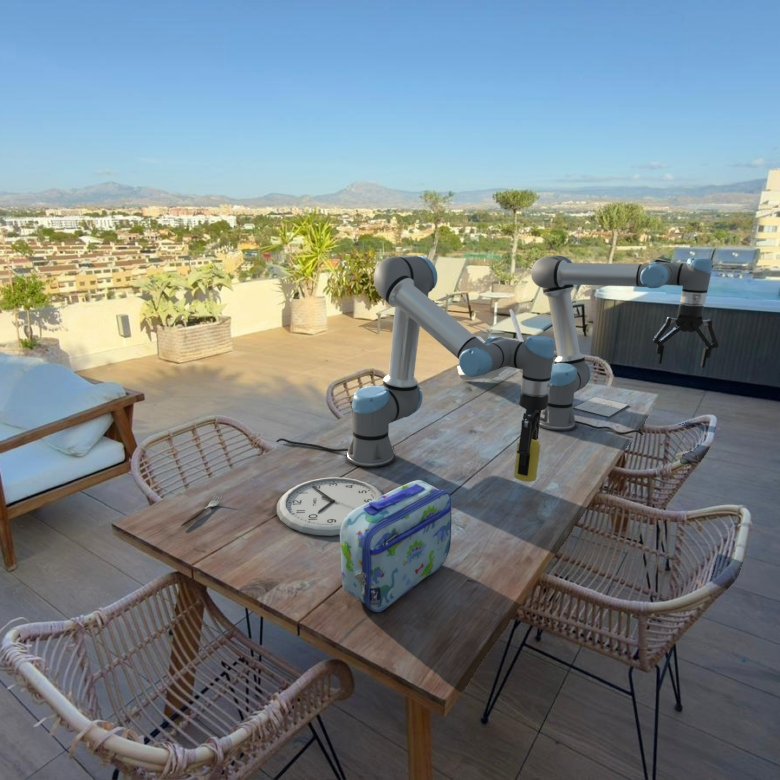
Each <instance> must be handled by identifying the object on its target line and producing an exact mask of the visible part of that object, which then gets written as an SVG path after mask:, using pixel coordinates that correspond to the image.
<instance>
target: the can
mask: <svg viewBox="0 0 780 780" xmlns="http://www.w3.org/2000/svg"><path fill="white" fill-rule="evenodd" d="M519 443H520V438H519V439H518V440H517V445H516V453H515V461H514V462H515V463H514V470H513V471H514V472H513V477H514V478H515V479H516V480H518V481H521V482H527V483H529V482H534V481H535V480H537V475H538V468H539V459H540V451H541V442H540V441H539V440H534V439H532V441H531V446H530V460H529V469H528V475H527V476H525V475H521V474H518V465H519V456H520V454H518V453H517V451H518V450H519Z"/></svg>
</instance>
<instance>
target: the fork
mask: <svg viewBox="0 0 780 780" xmlns="http://www.w3.org/2000/svg"><path fill="white" fill-rule="evenodd" d="M224 494H225V493H223V492H220V491H217V492H216V494H215V495H214V496H213V498H212V499H211V500H210V502H209V503H208V504H207V506H206V507H204V508H202V509H200V510H198V511H197V512H195V513H194V514H193V515H192V516H190V517H189V518H188V519H186V520H185V521H184V522H183V523H182V524H181V525H180V526H181V527H183V526H185V525H187V524H189V523H190V522H191V521H193V520H195V519H196V518H198V517H199V516H201V515H202V514H203V513H204V512H205V511H206V510H207V509H208V508H212V507H216V506H218V505H219V504H220V503H221V501H222V498H223V497H224Z"/></svg>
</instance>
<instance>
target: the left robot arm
mask: <svg viewBox="0 0 780 780" xmlns="http://www.w3.org/2000/svg"><path fill="white" fill-rule="evenodd" d="M373 284H374V288H375V290H376V292H377V293H378V295H379V296H380V297H381V298H382V299H383V300H384V301H385V302H386V303H387V304H388V305H389V306H390V307H393V308H394V313H393V315H394V316H393V321H392V322H393V324H392V332H391V333H392V334H391V344H390V354H389V363H388V374H386V375H385V376H384V377H383V380H382V385H371V386H369V385H367V386H363V387H361V388H358V389H357V390H356V391H355V392H354V393H353V396H352V403H351V408H352V409H351V410H352V437H351V441H350V443H349V446H348V448H330V447H326V446H322V445H319V444H315V443H314V444H312V443H307V442H299V441H293V440H288V439H286V438H283V437H281V438H278V439H276V440H275V443H279V442H285V443H288V444H293V445H300V446H306V447H313V448H318V449H322V450H326V451H329V452H347V453H346V454H347V455H346V457H347V458H346V459H347V461H348V462H349V464H352V465H354V466H356V467H361V468H366V469H367V468H370V469H371V468H373V469H374V468H381V467H384V466H387V465H389V464H391V463H392V462H393V461H394V459H395V457H394V456H395V452H394V451H395V445H392V443H391V440H390V437H389V436H390V435H389V432H390V431H389V430H390V429H389V428H390V427H389V426H390V425H389V424H391V423H394V422H397V421H399V420H401V419H404V418H408V417H410V416H412V415H413V414H415V413H416V412H417V411H418V410H420V408H421V406H422V404H423V391H422V390H421V387H420V386H419V381H418V379H417V378H416V377H415V371H416V362H417V353H418V345H419V336H420V329H421V328H422V329H423V330H424V331H425V332H427V333H428V335H430V336H431V337H432V338H433V339H435V341H437V342H438V343H439V344H440V345H441V346H442V347H444V349H446V350H448V352H450V354H452V355H453V356H454V357H456V359H458V366H460V368H461V370H462V372H463V373H464V374H466V375H467V376H470V377H477V376H482V375H485V374H487V373H489V372H491V371H494V370H497V369H500V368H503V367H508V368H513V369H517V370H521V371H522V370H523V372H522V375H521V382H520V391H521V392H520V393H519V403H518V404H519V406H520V407H521V408H522V409H525V412H523V414H522V415H523V416H522V419H521V422H520V423H521V428H520V436H519V439H520V443H519V450H518V451H517V450H516V452H517V453H518V454H520V456H519V465H518V474H521V475H525V476H527V475H528V469H529V460H530V446H531V441H532V439H534V440H537V441H539V434H540V427H539V425H540V416H541V411H542V410H544V409H546V408H547V405H548V397H549V396H548V395H547V394H548V393H549V387H552V384H550V379H551V372H552V365H553V364H554V358H555V345H556V344H555V339H553V338H551V337H550V336H544V335H529V336H527V337H526V338H525V341H524V342H521V341H519V340H515V339H510V338H505V337H502V336H489V337H488V338H487V339H486V340H484V341H485V342H484V343H483V342H482V341H480V340H479V339H478V338H477V337H475V336H476V335H475V334H474V333H472V332H471V331H470V330H468V329H467V328H466V327H465V326H464V325H462V324H461V323H460V322H459V321H457V320H456V319H455V318H454V317H452V315H450V314H449V313H448V312H447V311H446V310H444V308H442V307H441V306H439V305H438V304H437V303H436V302H435V301H433V300H432V299H431V298H430V297H429V294H430V293H431V292H432V291H433V290H434V289H435V288H436V287H437V284H438V271H437V268H436V266H435V264H433V262H432V260H431V259H429V258H428V257H425V256H423V255H403V256H389V257H386V258H383V260H381V261H380V262H379V263H378V264H377V266H376V267H375V270H374V271H373Z"/></svg>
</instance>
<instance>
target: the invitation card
mask: <svg viewBox="0 0 780 780" xmlns="http://www.w3.org/2000/svg"><path fill="white" fill-rule="evenodd" d="M628 406H629V404H627V403H623V402H618V401H614V400H609V399H605V398H601V397H596V396H593V397H592V398H590V399H588V400H586V401H584V402H582V403H580V404H578V405H575V406H574V407H573V409H575V410H581V411H584V412H587V413H593V414H596V415H600V416H604V417H608V418H609V417H611V416H613V415H614V414H616V413H617V412H619V411H621V410H623V409H624V408H626V407H628Z"/></svg>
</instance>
